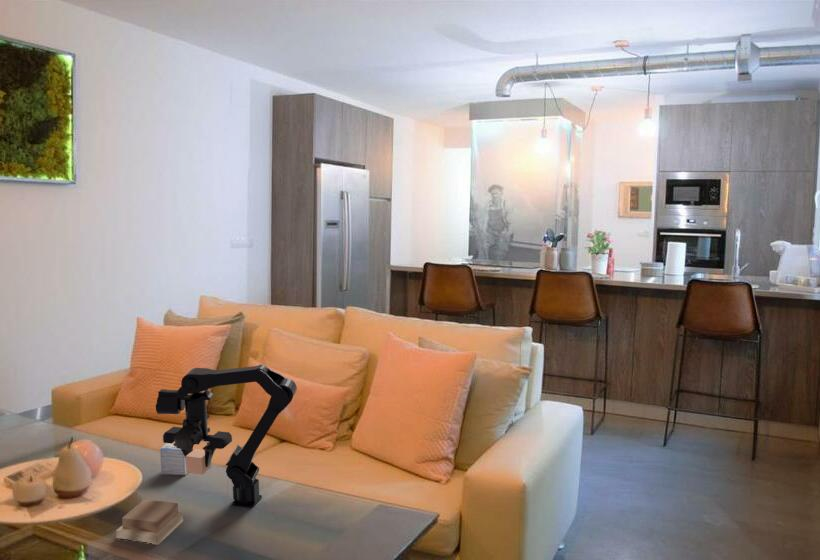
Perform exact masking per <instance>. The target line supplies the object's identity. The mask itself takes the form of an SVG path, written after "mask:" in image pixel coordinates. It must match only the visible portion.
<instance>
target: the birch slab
mask: <svg viewBox="0 0 820 560" xmlns="http://www.w3.org/2000/svg"><path fill="white" fill-rule="evenodd" d="M183 522H184V513H183V512H180V511H178V514H177V515H176V516H175V517H174V518H173V519H172V520H171V521H170V522H169V523H168V524H167V525H166V526H165V527H163V528H162V529H161V530H160V531H159V532H158V533H154V532H146V531H138V530H130V529H123V524H122V525H120V527H118V528H117V529H116V530H115V536H116V539H117V538H123V539H130V540H136V541H142V542H148V543H147V544H149V543H152V544H151V545H156V546H157V545H160V543H162V542H163V541H164V540H165V539H166V538H167V537H168V536H170V534H171V533H173V531H174V530H176V529H177V528H178V527H179V526H180V525H181V524H182V523H183ZM142 542H141V543H142Z"/></svg>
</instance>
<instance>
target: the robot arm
mask: <svg viewBox="0 0 820 560" xmlns="http://www.w3.org/2000/svg"><path fill="white" fill-rule="evenodd" d="M180 382H181V386H180V387H179V388H178V389H165V388H164V389H160V390H159V391H158V396H157V398H156V403H155V411H156V413H157V415H180V414H181V412H182V411H184V410H185V411H184V414H185V418H184V419H182V426H172V427H170V428H169V429H168V430H167V431H165V432H163V435H162V442H163V443H164V444H166V443H171V444H173V445H174V446H176V447H177V448H179V449H181V450H182V452H183V454H184V456H185V458H186V455H188V454H189V453H190V452H192V451H193V450H194V449H193V448H194V446H195V445H200V444H201V442H206V443H205V444H206V445H205V446H203V447H202V450H204V451H205V465H206V467H208V466H209V464H210V462H211V463H212V458H213V456H214V453H215V451H216V449H217V450H223V449H224V448H226V447H227V446H228V445H230V444H231V442H232V441H233V436H232V434H231V433H230V432H228V431H219V430H218V431H217V432H216V433H214V434H209V433H210V432H211V428H210V427H208V419H209V418H210V414H208V412H207V401H210V400H211V399H212V398H213V397H214V393H212V392H211V391H210V389H212V388H215V387H221V386H230V385H231V386H232V385H238V384H239V385H240V384H249V383H257V384H258V385H259V386H260V387H261V388H262V389H263V391H265V393H267V395H269V396H270V399H269V401H268V404H267V407H266V410H265V411H264V413H263V415H262V416H261V418H260V419H259V421H258V423H257V424H256V426H255V428H254V429H253V430H252V432H251V434H250V435H249V437H248V439H247V441H246V443H245V444H243V446H240V445H239V444H237V445H236V447H235V449H234V450H233V452H232V454H231V455H230V457H229V458H228V460H227V461H226V463H225V466H226V469H225V473H226V476H227V477H228V478H229V479H230V481H231V483H232V485H233V486H232V499H233V501H232V502H231V505H232V506H237V507H238V506H239V507H244V508H245V507H246V508H254V507H255V505H257V503H258V502H259V501H260V500H261V499H262V498H263V496H262V495H261V494H260V480H259V479H257V475H259V472H260V467H258V465H256V464H255V463H254V462H253V461H254V457H256V456H255V455H256V453H257V450H258V448H259V447H260V445H261V443H262V442H263V440H264V439H265V437H266V435H267V434H268V432H269V430H270V429H271V428H272V425H273V424H274V422H275V420H276V419H277V418H278V416H279V415H280V414H281V413H282V412H283V411H284V410H285V409H286V408H287V407H288V405H289V404H290V403H291V402H292V400H293V399H294V396H295V395H296V392H297V384H296V382H295V381H294V380H293V379H291V378H287V377H286V376H284V375H282V374H281V373H279V372H276V371H274V370H272V369H271V368H269V367H267V366H266V365H265V364H258V365H253V366H252V365H251V366H245V367H236V368H235V367H234V368H226V369H225V368H224V369H217V370H216V369H211V368H207V367H194V368H192V369H190V370H189V371H188V372H187V373H186V374H185V375H184V376H183V377H182V379H181V381H180Z"/></svg>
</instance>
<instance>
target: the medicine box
mask: <svg viewBox="0 0 820 560" xmlns="http://www.w3.org/2000/svg"><path fill="white" fill-rule="evenodd" d="M173 444H174V443H172V444H171V443H164V445H162V446H161V448H159V452H160V453H159V454H160V465H161V466H160V467H161V469H160V470H161V475H173V476H187V474H188V473H186V458H185V456H184V454H183V452H182V450H181V449H179V448H177V447H176V446H174V445H173Z"/></svg>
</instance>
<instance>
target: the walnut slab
mask: <svg viewBox="0 0 820 560" xmlns="http://www.w3.org/2000/svg"><path fill="white" fill-rule="evenodd" d="M178 512H179V504H178V503H177V502H168V501H161V500H152V499H143V500H141V502H139V503H138V504H137V505H136V506H134V507H133V508H132V509H131V510H130V511H128V512H127V513H126V514H125V515H124V516H122V518H121V521H122V522H121V523H122V525H123V529H130V530H138V531H146V532H154V533H158V532H159V531H160V530H161V529H162V528H163V527H165V526H166V525H167V524H168V523H169V522H170V521H171V520H172V519H173V518H174V517H175V516H176V515H177V514H178Z"/></svg>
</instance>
